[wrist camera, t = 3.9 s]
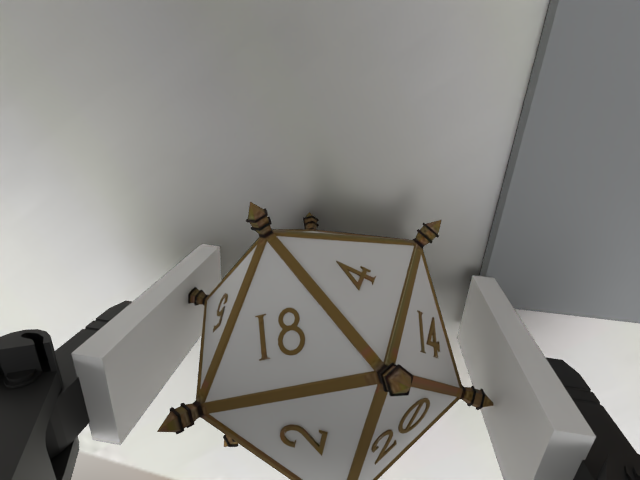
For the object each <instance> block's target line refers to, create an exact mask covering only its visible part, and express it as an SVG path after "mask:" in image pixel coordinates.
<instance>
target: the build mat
mask: <svg viewBox="0 0 640 480" xmlns="http://www.w3.org/2000/svg"><path fill="white" fill-rule="evenodd" d="M479 276H483V277H491V278H495V280H496V281H497V283H498V284H499V286H500V288H501V289H502V291H503V292H504V294H505V295H506V297H507V298H508V300H509V302H510V303H511V305H512V306H513V308H514V309H522V310H531V311H539V312H548V313H556V314H564V315H573V316H581V317H590V318H598V319H607V320H615V321H624V322H632V323H640V0H550V4H549V8H548V12H547V16H546V19H545V23H544V27H543V31H542V35H541V39H540V43H539V47H538V50H537V54H536V58H535V62H534V66H533V70H532V74H531V78H530V81H529V85H528V89H527V93H526V97H525V101H524V105H523V109H522V112H521V116H520V120H519V124H518V128H517V132H516V136H515V140H514V143H513V147H512V151H511V155H510V159H509V163H508V167H507V171H506V174H505V178H504V182H503V186H502V190H501V194H500V198H499V202H498V205H497V209H496V213H495V217H494V221H493V225H492V229H491V233H490V236H489V240H488V244H487V248H486V252H485V256H484V260H483V264H482V267H481V271H480V275H479Z"/></svg>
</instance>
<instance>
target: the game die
mask: <svg viewBox="0 0 640 480" xmlns="http://www.w3.org/2000/svg"><path fill="white" fill-rule="evenodd" d="M267 216H268V214H267V210H266V209H262V208H260V207H259V206H257V205H255V204H253V203H252V202H250V207H249V215H248V219H247V220H246V222H250V224H251V226H252V227H251V229H252V230H255V231H256V232H257V233H259V236H260V237H259V238H258V239H257V240H256V242H255V243H254V244H253V245H252V246H251V247H250V248H249V250H248V251H247V252H246V253H245V254H244V255H243V256H242V258H241V259H240V260H239V261H238V262H237V263H236V265H235V266H234V267H233V268H232V269H231V270H230V271H229V273H228V274H227V275H226V276H225V277H224V278H223V279H222V281H221V282H220V283H219V284H218V285H217V286H216V288H215V289H214V290H213V291H212V292H211V293H210V294H209V295H206V294H205V293H204V291H203V290H198V289H197V288H196V287H194V288H193V289H192V290H191V291H190V293H189V294H188V303H189V304H190V303H194V305H195V306H196V305H199V304H202V305H204V315H203V327H202V338H201V349H200V361H199V372H198V383H197V395H196V401H195V402H194V403H193V404H187V405H185V404H184V403H181V406H180V407H178V408H176V409H174V408H173V407H172V408H170V413H169V415H168V416H167V418H166V419H165V421H164V422H163V424H162V425H161V427H160V428H159V430H158V431H157V432H176V434H179V433H181V432H183V431H184V428H185V427H187V428H188V427H190V426H192V425H194V421H195V420H196V419H197V418H199V417H201V418H203V419H204V420H206V421H207V422H208V423H210V424H211V425H213V426H214V427H216V428H217V429H219V430H220V431H221V432H223V433H224V434H225V435H224V436H223V438H224V447H227V446H228V447H237V446H238V443H239V444H240V445H242V446H243V447H244V448H246V449H247V450H249V451H250V452H252V453H253V454H255V455H256V456H257V457H259V458H260V459H262V460H263V461H265V462H266V463H268V464H269V465H270V466H272V467H273V468H275V469H276V470H278V471H279V472H280V473H282V474H283V475H285V476H286V477H288V478H289V479H291V480H377V479H379V478H380V477H381V476H382V475H383V474H384V473H385V472H386V471H387V470H388V469H389V468H390V467H391V466H392V465H393V464H394V463H395V462H396V461H397V460H398V459H399V458H400V457H401V456H402V455H403V454H404V453H405V452H406V451H407V450H408V449H409V448H410V447H411V446H412V445H413V444H414V443H415V442H416V441H417V440H418V439H419V438H420V437H421V436H422V435H423V434H424V433H425V432H426V431H427V430H428V429H429V428H430V427H431V426H432V425H433V424H434V423H436V422H437V421H438V420H439V419H440V418H441V417H442V416H443V415H444V414H445V413H446V412H447V411H448V410H449V409H450V408H451V407H452V406H453V405H454V404H455V403H456V402H457V401H458V400H459V399H462V400H464V401H465V402H466V403H467V405H468V406H471V405H472V406H474V407H476V409H477V410H479V409H481V408H482V407H488V406H493V402H492V401H491V400H490V399H489V397H488V396H487V395H486V394H485V393H484V391H483V389H480V390H478V389H475V388H474V386H472V387H471V388H468V387H464V386H462V384H461V381H460V377H459V374H458V370H457V367H456V363H455V360H454V357H453V353H452V350H451V346H450V343H449V339H448V336H447V332H446V329H445V325H444V322H443V318H442V315H441V311H440V308H439V304H438V301H437V297H436V294H435V290H434V287H433V284H432V280H431V277H430V273H429V270H428V266H427V263H426V259H425V256H424V252H423V247H424V246H425V245H426V244H428V243H432V240H433V239H434V238H435V237H439V235H438V232H439V228H440V224H441V220H439V221H435V222H431V223H427V224H425V223H423V225H424V226H423V227H422V228H421V229H420V230H419V229H418V230H417V231H418V234H417V236H416V238H415V239H413V240H409V239H399V238H390V237H380V236H371V235H361V234H352V233H342V232H333V231H323V230H316V228H317V227H318V226H319V225H318V224H317V221H318V219H317V218H316V217H314V216H313V215H312V214H311V213H310V212H309V213H308V214H307V216H306V217H305V218H303V220H304V226H305V229H271V227H270V224H272V223H271V220H270V217H267Z"/></svg>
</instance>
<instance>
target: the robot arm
mask: <svg viewBox="0 0 640 480" xmlns="http://www.w3.org/2000/svg"><path fill="white" fill-rule="evenodd" d="M221 281H222V278H221V258H220V246H215V245H206V244H201V245H200V246H198V247H197V248H196V249H195V250H194V251H192V252H191V253H190V254H189V255H188V256H187V257H185V258H184V259H183V260H182V261H181V262H179V263H178V264H177V265H176V266H175V267H173V268H172V269H171V270H170V271H169V272H167V273H166V274H165V275H164V276H163V277H161V278H160V279H159V280H158V281H157V282H156V283H154V284H153V285H152V286H151V287H150V288H148V289H147V290H146V291H145V292H144V293H142V294H141V295H140V296H139V297H138V298H136V299H135V300H134V301H133V302H131V301H124V302H122V303H120V304H118V305H115V306H113V307H111V308H109V309H108V310H106V311H105V312H104V313H103V314H101V315H100V316H99V317H97V318H96V321H92V322H91V323H90V324H89V325H87V326H86V328H85V329H82V330H81V331H80V332H78V333H77V334H76V335H75V336H73V337H72V338H71V339H70V340H68V341H67V342H66V343H65V344H63V345H62V346H61V347H60V348H58V349H57V350H56V351H54V348H53V344H52V340H51V336H50V335H49V334H48V333H47V332H46V331H42V330H38V329H35V330H22V331H18V332H13V333H10V334H7V335H4V336H2V337H0V480H71V477H72V473H73V469H74V466H75V462H76V458H77V455H78V451H79V440H78V435H79V433H80V432H81V431H82V430H83V429H84V428H85V427H86V426H87V424H88V423H89V426H90V430H91V435H92V439H93V440H96V441H102V442H107V443H112V444H118V445H121V444H122V442H123V441H124V439H125V438H126V437H127V435H128V434H129V433H130V431H131V430H132V429H133V427H134V426H135V425H136V423H137V422H138V420H139V419H140V418H141V416H142V415H143V414H144V412H145V411H146V410H147V408H148V407H149V406H150V404H151V403H152V401H153V400H154V399H155V397H156V396H157V395H158V393H159V392H160V391H161V389H162V388H163V387H164V385H165V384H166V382H167V381H168V380H169V378H170V377H171V376H172V374H173V373H174V372H175V370H176V369H177V368H178V366H179V365H180V363H181V362H182V361H183V359H184V358H185V357H186V355H187V354H188V353H189V351H190V350H191V349H192V347H193V346H194V344H195V343H196V342H197V340H198V339H199V338H200V336H201V335H202V327H203V315H204V305H202V304H199V305H196V306H195V305H194V303H190V304H189V303H188V294H189V293H190V291H191V290H192V289H193V288H194V287H196V288H197V289H198V290H203V291H204V293H205V294H206V295H209V294H210V293H211V292H212V291H213V290H214V289H215V288H216V286H217V285H218V284H219V283H220V282H221ZM457 339H458V342H459V345H460V348H461V351H462V354H463V357H464V360H465V363H466V366H467V369H468V372H469V375H470V378H471V381H472V384H473V386H474V388H475V389H478V390H480V389H483V391H484V393H485V394H486V395H487V396H488V397H489V399H490V400H491V401H492V402H493V406H488V407H482V408H481V412H482V415H483V418H484V421H485V424H486V427H487V430H488V433H489V436H490V439H491V442H492V445H493V448H494V452H495V455H496V458H497V461H498V464H499V467H500V470H501V473H502V476H503V479H504V480H640V455H639V454H637V453H636V451H635V450H634V448H633V447H632V446H631V444H630V443H629V442H628V440H627V439H626V437H625V436H624V435H623V433H622V432H621V431H620V429H619V428H618V426H617V425H616V424H615V422H614V421H613V420H612V418H611V417H610V415H609V414H608V413H607V411H606V410H605V409H604V407H603V406H602V405H600V402H599V400H598V399H597V398H596V396H595V395H594V393H593V392H591V391H590V390H591V389H590V388H589V386H588V385H587V384H586V382H585V381H584V380H583V378H582V377H581V375H580V374H579V373H578V372H576V371H575V370H574V369H573V368H571V367H570V366H569V365H568V364H567V363H565V362H564V361H563V360H559V359H552V358H545V356H544V355H543V353H542V351H541V350H540V348H539V347H538V345H537V344H536V342H535V341H534V339H533V337H532V336H531V334H530V333H529V331H528V330H527V328H526V327H525V325H524V323H523V322H522V320H521V319H520V317H519V316H518V314H517V313H516V311H515V309H514V308H513V306H512V305H511V303H510V302H509V300H508V298H507V297H506V295H505V294H504V292H503V291H502V289H501V288H500V286H499V284H498V283H497V281H496V280H495V278H491V277H483V276H474V275H472V279H471V283H470V287H469V291H468V295H467V299H466V303H465V307H464V311H463V316H462V320H461V324H460V328H459V332H458V336H457Z"/></svg>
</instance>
